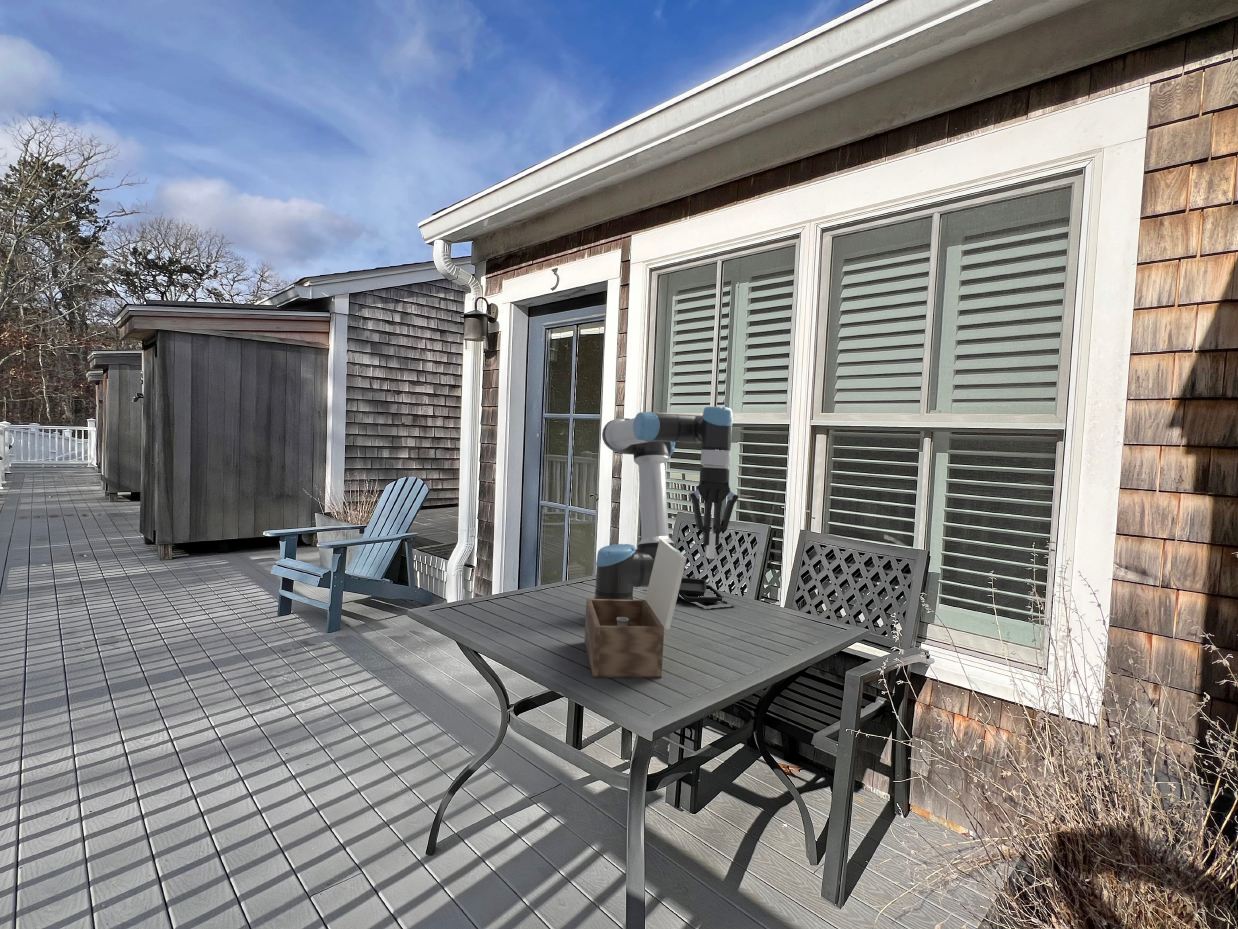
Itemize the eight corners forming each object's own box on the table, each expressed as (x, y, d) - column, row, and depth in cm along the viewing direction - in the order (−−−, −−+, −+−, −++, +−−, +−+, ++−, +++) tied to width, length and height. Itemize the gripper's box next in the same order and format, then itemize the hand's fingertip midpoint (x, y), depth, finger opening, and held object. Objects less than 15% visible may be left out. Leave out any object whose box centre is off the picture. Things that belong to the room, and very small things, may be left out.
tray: (747, 606, 229) (748, 591, 229) (699, 614, 215) (700, 598, 215) (688, 588, 253) (689, 574, 253) (642, 594, 239) (642, 580, 239)
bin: (643, 642, 181) (645, 600, 180) (661, 677, 155) (664, 628, 154) (584, 642, 179) (586, 598, 178) (592, 677, 153) (595, 627, 152)
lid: (645, 599, 181) (649, 600, 181) (664, 628, 154) (669, 629, 154) (659, 538, 181) (663, 539, 181) (681, 557, 153) (686, 558, 154)
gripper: (735, 467, 172) (730, 556, 173) (686, 465, 170) (682, 554, 171) (744, 468, 165) (738, 561, 165) (693, 466, 163) (688, 559, 164)
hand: (710, 557), depth 168 cm, fingers closed
